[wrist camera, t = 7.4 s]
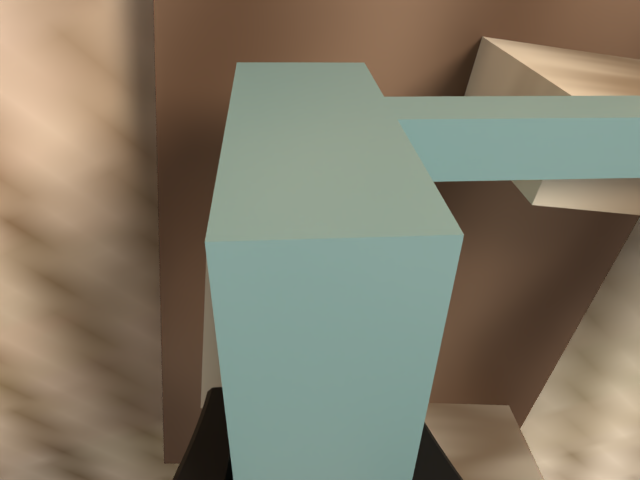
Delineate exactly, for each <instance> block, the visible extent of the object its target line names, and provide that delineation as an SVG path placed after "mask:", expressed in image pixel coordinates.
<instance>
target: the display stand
mask: <svg viewBox="0 0 640 480" xmlns="http://www.w3.org/2000/svg"><path fill="white" fill-rule="evenodd" d="M153 2H154V45H155V88H156V131H157V173H158V216H159V259H160V302H161V345H162V388H163V431H164V463H181V461H182V458H183V456H184V454H185V452H186V450H187V447H188V445H189V442H190V440H191V437H192V435H193V433H194V430H195V428H196V425H197V422H198V420H199V417H200V414H201V411H202V408H203V405H204V402H205V398H206V395H207V391H209V390H210V389H211V388H213V387H222V381H221V373H220V365H219V356H218V348H217V340H216V331H215V323H214V315H213V306H212V298H211V290H210V281H209V273H208V265H207V256H206V248H205V238H206V232H207V227H208V221H209V215H210V210H211V204H212V199H213V193H214V187H215V182H216V176H217V171H218V165H219V159H220V154H221V148H222V143H223V137H224V131H225V126H226V120H227V115H228V109H229V104H230V98H231V92H232V87H233V81H234V76H235V70H236V64H237V62H323V63H365V64H366V66H367V68H368V70H369V71H370V73H371V75H372V77H373V78H374V80H375V82H376V83H377V85H378V87H379V89H380V90H381V92H382V94H383V96H384V97H424V96H640V0H153ZM434 184H435V185H436V187H437V189H438V191H439V192H440V194H441V196H442V197H443V199H444V201H445V203H446V204H447V206H448V208H449V210H450V211H451V213H452V215H453V216H454V218H455V220H456V222H457V223H458V225H459V227H460V229H461V230H462V232H463V234H464V238H463V242H462V247H461V252H460V256H459V261H458V266H457V271H456V275H455V280H454V285H453V290H452V294H451V299H450V304H449V308H448V313H447V318H446V323H445V327H444V332H443V337H442V341H441V346H440V351H439V356H438V360H437V365H436V370H435V374H434V379H433V384H432V389H431V393H430V398H429V403H428V407H427V412H426V417H425V423H426V425H427V426H428V428H429V430H430V431H431V433H432V435H433V436H434V438H435V439H436V441H437V442H438V444H439V445H440V447H441V448H442V450H443V451H444V453H445V454H446V456H447V457H448V459H449V460H450V462H451V463H452V465H453V466H454V467H455V469H456V470H457V472H458V473H459V475H460V476H461V477H462V479H463V480H544V478H543V476H542V474H541V472H540V470H539V468H538V466H537V464H536V461H535V459H534V457H533V455H532V453H531V451H530V449H529V447H528V445H527V442H526V440H525V438H524V436H523V434H522V432H521V430H520V428H521V426H522V424H523V423H524V421H525V419H526V417H527V415H528V414H529V412H530V410H531V408H532V407H533V405H534V403H535V401H536V400H537V398H538V396H539V394H540V392H541V391H542V389H543V387H544V385H545V384H546V382H547V380H548V378H549V376H550V375H551V373H552V371H553V369H554V368H555V366H556V364H557V362H558V360H559V359H560V357H561V355H562V353H563V352H564V350H565V348H566V346H567V345H568V343H569V341H570V339H571V337H572V336H573V334H574V332H575V330H576V329H577V327H578V325H579V323H580V321H581V320H582V318H583V316H584V314H585V313H586V311H587V309H588V307H589V305H590V304H591V302H592V300H593V298H594V297H595V295H596V293H597V291H598V290H599V288H600V286H601V284H602V282H603V281H604V279H605V277H606V275H607V274H608V272H609V270H610V268H611V266H612V265H613V263H614V261H615V259H616V258H617V256H618V254H619V252H620V250H621V249H622V247H623V245H624V243H625V242H626V240H627V238H628V236H629V235H630V233H631V231H632V229H633V227H634V226H635V224H636V222H637V220H638V219H639V217H640V178H606V179H552V180H498V181H445V182H434Z"/></svg>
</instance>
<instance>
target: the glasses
mask: <svg viewBox="0 0 640 480" xmlns="http://www.w3.org/2000/svg"><path fill="white" fill-rule="evenodd" d="M606 178H640V96H424V97H384V96H383V94H382V92H381V90H380V89H379V87H378V85H377V83H376V82H375V80H374V78H373V77H372V75H371V73H370V71H369V70H368V68H367V66H366V64H365V63H323V62H237V64H236V70H235V76H234V81H233V87H232V92H231V98H230V104H229V109H228V115H227V120H226V126H225V131H224V137H223V143H222V148H221V154H220V159H219V165H218V171H217V176H216V182H215V187H214V193H213V199H212V204H211V210H210V215H209V221H208V227H207V232H206V238H205V248H206V256H207V265H208V273H209V281H210V290H211V298H212V306H213V315H214V323H215V331H216V340H217V348H218V356H219V365H220V373H221V381H222V389H223V398H224V406H225V414H226V423H227V431H228V439H229V448H230V456H231V464H232V473H233V480H412V478H413V474H414V469H415V464H416V459H417V455H418V450H419V445H420V441H421V436H422V431H423V426H424V422H425V417H426V412H427V407H428V403H429V398H430V393H431V389H432V384H433V379H434V374H435V370H436V365H437V360H438V356H439V351H440V346H441V341H442V337H443V332H444V327H445V323H446V318H447V313H448V308H449V304H450V299H451V294H452V290H453V285H454V280H455V275H456V271H457V266H458V261H459V256H460V252H461V247H462V242H463V238H464V234H463V232H462V230H461V229H460V227H459V225H458V223H457V222H456V220H455V218H454V216H453V215H452V213H451V211H450V210H449V208H448V206H447V204H446V203H445V201H444V199H443V197H442V196H441V194H440V192H439V191H438V189H437V187H436V185H435V184H434V182H445V181H498V180H552V179H606Z"/></svg>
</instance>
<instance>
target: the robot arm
mask: <svg viewBox="0 0 640 480" xmlns="http://www.w3.org/2000/svg"><path fill="white" fill-rule="evenodd" d="M173 480H233V473H232V464H231V456H230V448H229V439H228V431H227V423H226V414H225V406H224V398H223V389H222V387H213V388H211V389H210V390H209V391H207V395H206V398H205V402H204V405H203V408H202V411H201V414H200V417H199V420H198V422H197V425H196V428H195V430H194V433H193V435H192V437H191V440H190V442H189V445H188V447H187V450H186V452H185V454H184V456H183V458H182V461H181V463H180V465H179V467H178V469H177V471H176V474H175V476H174V478H173ZM412 480H463V479H462V477H461V476H460V475H459V473H458V472H457V470H456V469H455V467H454V466H453V465H452V463H451V462H450V460H449V459H448V457H447V456H446V454H445V453H444V451H443V450H442V448H441V447H440V445H439V444H438V442H437V441H436V439H435V438H434V436H433V435H432V433H431V431H430V430H429V428H428V426H427V425H426V423H425V422H424V426H423V431H422V436H421V441H420V445H419V450H418V455H417V459H416V464H415V469H414V474H413V478H412Z"/></svg>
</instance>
